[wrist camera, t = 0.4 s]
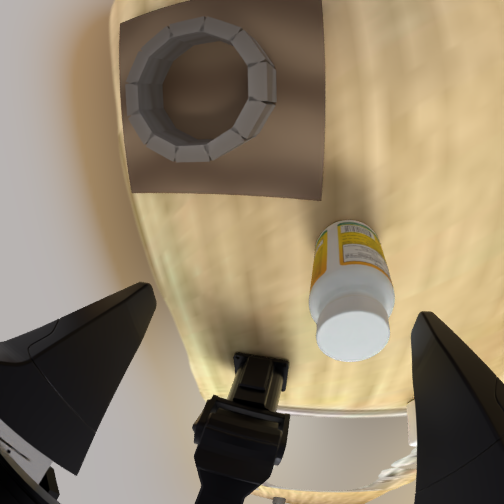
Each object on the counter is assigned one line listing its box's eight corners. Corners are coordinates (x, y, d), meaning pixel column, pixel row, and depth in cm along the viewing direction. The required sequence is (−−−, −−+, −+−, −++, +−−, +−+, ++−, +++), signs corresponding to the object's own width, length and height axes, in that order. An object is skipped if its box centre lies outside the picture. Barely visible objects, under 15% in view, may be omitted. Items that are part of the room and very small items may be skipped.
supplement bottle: (362, 206, 19) (386, 282, 11) (388, 261, 20) (413, 350, 12) (302, 236, 21) (284, 322, 13) (332, 285, 23) (328, 377, 15)
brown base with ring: (321, 192, 19) (320, 218, 15) (144, 185, 22) (109, 206, 18) (320, -2, 12) (318, -32, 7) (134, 27, 15) (94, 18, 11)
